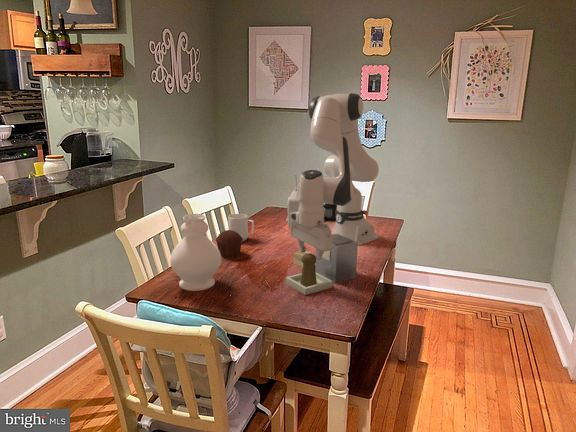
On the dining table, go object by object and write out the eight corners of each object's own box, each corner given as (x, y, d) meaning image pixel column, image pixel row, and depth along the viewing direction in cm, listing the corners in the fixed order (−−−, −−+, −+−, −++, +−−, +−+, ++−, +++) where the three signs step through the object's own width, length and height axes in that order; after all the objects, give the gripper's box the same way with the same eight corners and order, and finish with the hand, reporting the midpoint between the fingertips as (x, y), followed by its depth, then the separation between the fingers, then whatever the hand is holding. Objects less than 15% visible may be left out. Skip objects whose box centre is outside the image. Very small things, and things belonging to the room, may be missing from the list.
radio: (290, 217, 258) (290, 171, 251) (305, 217, 257) (306, 171, 250) (284, 228, 237) (284, 179, 230) (301, 229, 236) (301, 179, 229)
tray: (312, 276, 180) (312, 270, 179) (332, 287, 170) (332, 281, 169) (285, 283, 173) (285, 277, 172) (305, 295, 163) (305, 288, 163)
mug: (225, 241, 218) (224, 217, 215) (233, 235, 226) (233, 212, 223) (249, 244, 214) (249, 220, 211) (257, 238, 222) (257, 215, 219)
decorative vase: (165, 279, 175) (161, 213, 168) (211, 270, 184) (209, 207, 177) (180, 298, 160) (176, 226, 154) (229, 287, 169) (228, 219, 162)
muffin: (246, 257, 198) (246, 234, 196) (220, 260, 194) (219, 237, 192) (238, 248, 209) (237, 226, 206) (213, 251, 205) (212, 229, 202)
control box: (335, 267, 188) (336, 232, 184) (356, 277, 179) (358, 241, 175) (314, 272, 183) (315, 237, 179) (334, 283, 173) (336, 246, 169)
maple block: (301, 261, 195) (301, 249, 193) (310, 264, 192) (311, 252, 190) (293, 264, 191) (293, 252, 190) (303, 267, 188) (303, 255, 187)
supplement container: (340, 216, 259) (341, 195, 256) (337, 222, 249) (338, 199, 246) (321, 215, 262) (321, 194, 258) (317, 220, 252) (318, 198, 248)
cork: (299, 280, 174) (299, 252, 171) (315, 280, 175) (316, 251, 172) (301, 287, 168) (301, 258, 165) (318, 286, 169) (319, 257, 166)
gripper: (337, 223, 158) (336, 262, 162) (301, 209, 174) (301, 245, 178) (322, 227, 155) (321, 266, 159) (287, 212, 171) (287, 248, 175)
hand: (310, 255), depth 169 cm, fingers open, 8 cm apart
